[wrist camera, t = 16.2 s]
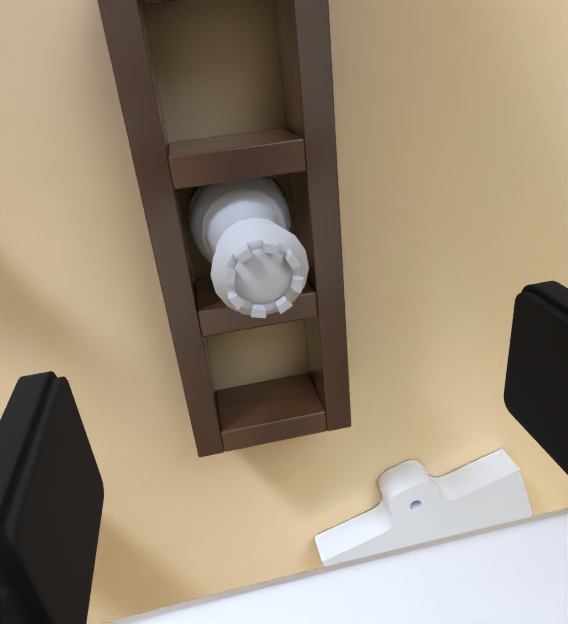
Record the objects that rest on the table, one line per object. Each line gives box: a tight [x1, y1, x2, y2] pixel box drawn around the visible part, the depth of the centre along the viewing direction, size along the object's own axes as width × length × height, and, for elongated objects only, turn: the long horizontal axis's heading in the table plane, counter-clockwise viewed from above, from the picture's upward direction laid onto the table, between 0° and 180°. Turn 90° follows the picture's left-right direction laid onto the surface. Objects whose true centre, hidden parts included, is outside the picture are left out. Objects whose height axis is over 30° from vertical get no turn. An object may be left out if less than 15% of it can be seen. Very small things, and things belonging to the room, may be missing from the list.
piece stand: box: [98, 0, 351, 457], centre depth 22 cm, size 7×20×4 cm, turn 6°
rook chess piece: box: [188, 177, 309, 318], centre depth 20 cm, size 4×4×8 cm
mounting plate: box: [314, 449, 533, 567], centre depth 35 cm, size 18×13×2 cm
